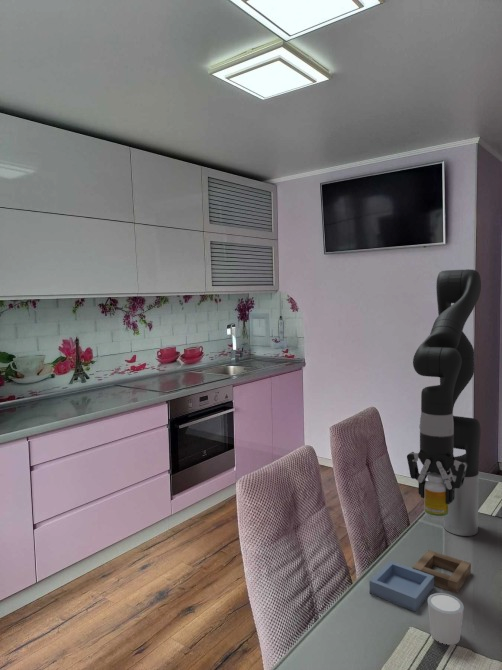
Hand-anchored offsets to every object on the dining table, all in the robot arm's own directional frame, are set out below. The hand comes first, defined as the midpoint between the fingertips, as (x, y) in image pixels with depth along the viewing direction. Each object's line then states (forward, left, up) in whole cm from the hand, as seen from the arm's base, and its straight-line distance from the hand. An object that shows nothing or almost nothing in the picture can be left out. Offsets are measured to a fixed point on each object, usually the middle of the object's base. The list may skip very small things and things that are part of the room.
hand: (436, 499), depth 119 cm
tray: (+10, -4, -20) cm, 22 cm away
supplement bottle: (0, 0, -4) cm, 4 cm away
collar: (-2, +1, -20) cm, 20 cm away
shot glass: (+19, +9, -20) cm, 29 cm away
